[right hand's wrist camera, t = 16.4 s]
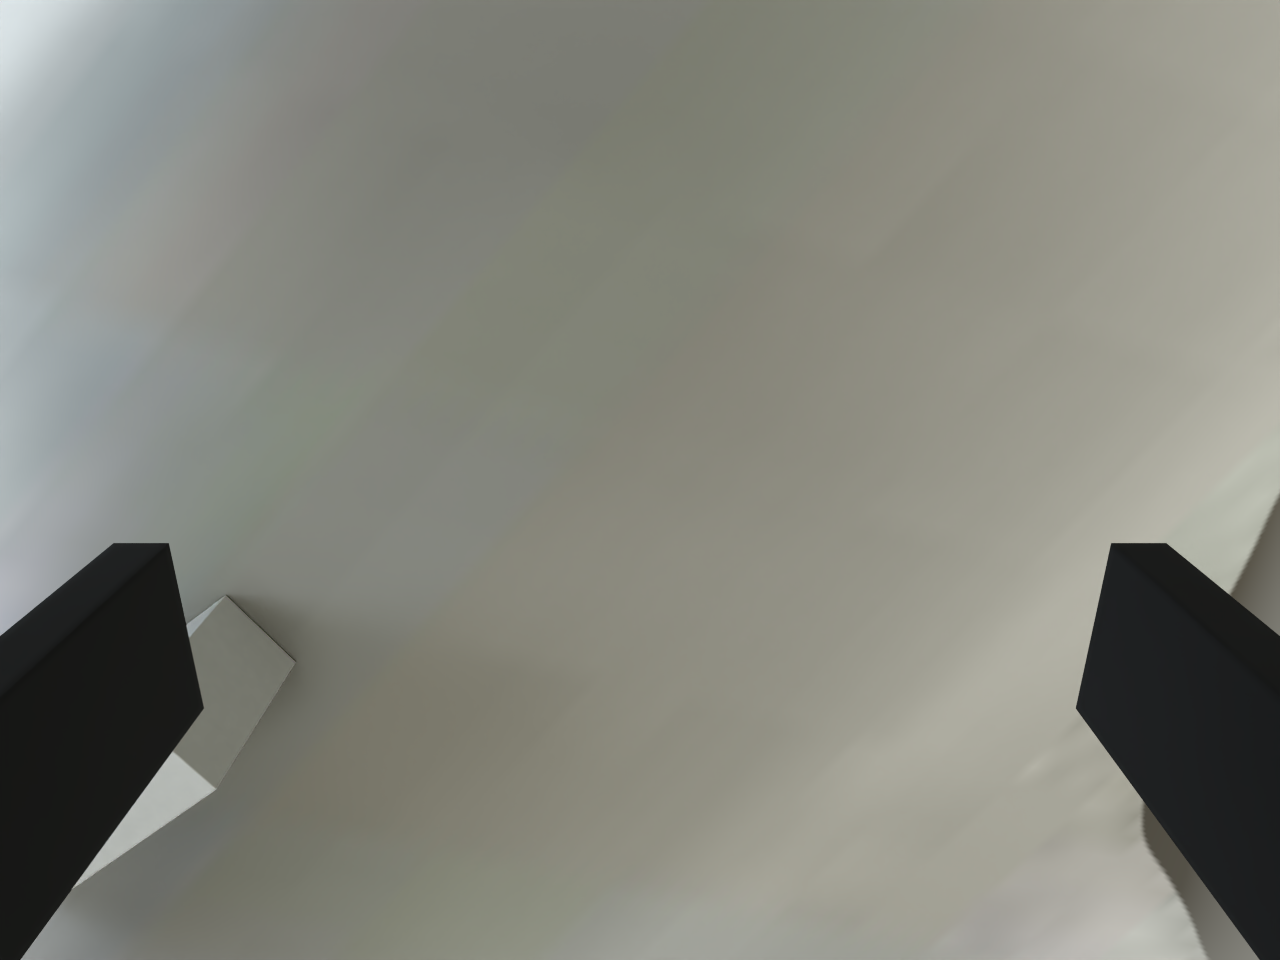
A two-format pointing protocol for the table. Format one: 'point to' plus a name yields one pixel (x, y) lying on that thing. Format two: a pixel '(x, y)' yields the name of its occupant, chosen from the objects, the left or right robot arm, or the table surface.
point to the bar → (207, 722)
